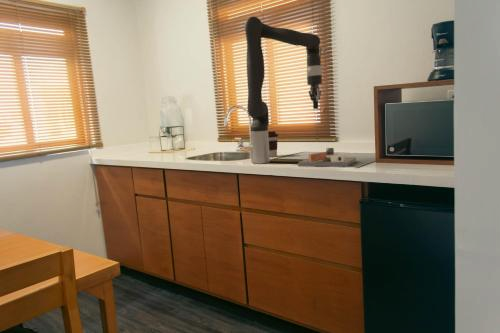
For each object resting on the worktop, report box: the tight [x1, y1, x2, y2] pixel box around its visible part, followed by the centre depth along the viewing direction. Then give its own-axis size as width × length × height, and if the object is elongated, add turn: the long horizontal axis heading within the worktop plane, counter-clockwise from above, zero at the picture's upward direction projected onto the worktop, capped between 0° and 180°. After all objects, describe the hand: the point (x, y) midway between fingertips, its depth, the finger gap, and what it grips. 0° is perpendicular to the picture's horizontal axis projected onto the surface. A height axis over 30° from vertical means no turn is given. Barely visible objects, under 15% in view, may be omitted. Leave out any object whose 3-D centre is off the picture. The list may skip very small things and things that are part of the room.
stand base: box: [297, 154, 357, 168], centre depth 194 cm, size 24×17×5 cm
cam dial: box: [308, 147, 340, 162], centre depth 192 cm, size 17×8×5 cm, turn 122°
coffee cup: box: [268, 130, 279, 158], centre depth 238 cm, size 10×10×15 cm
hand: (315, 108), depth 208 cm, fingers closed
